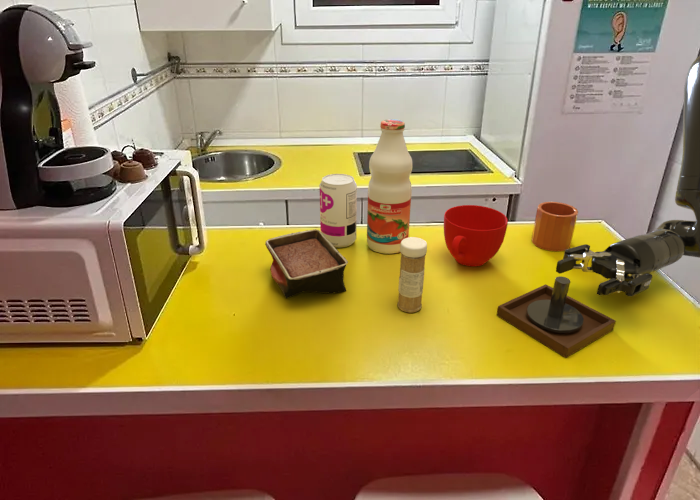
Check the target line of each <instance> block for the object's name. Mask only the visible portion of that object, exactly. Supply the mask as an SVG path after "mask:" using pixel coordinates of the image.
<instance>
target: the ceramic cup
mask: <svg viewBox="0 0 700 500" xmlns="http://www.w3.org/2000/svg"><path fill="white" fill-rule="evenodd" d="M508 223H509V219H508V217H507V216H506V214H504V213H503V212H501V211H499V210H497V209H495V208H492V207H488V206H483V205H476V204H462V205H457V206H453V207H450V208H448V209H446V210H445V212H444V214H443V237H444V242H445V245H446V248H447V250H448V252H449V253H450V254H451V256H452V257H453V258H454V260H455V261H456V262H457V263H458V264H460V265H463V266H466V267H481V266H483V265H485V264H486V263H487V262H489V261H491V259H492V258H494V257H495V256H496V254H498V252H499V250H500V248H501V247H502V245H503V243H504V240H505V236H506V234H507V229H508Z"/></svg>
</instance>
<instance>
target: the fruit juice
mask: <svg viewBox="0 0 700 500" xmlns="http://www.w3.org/2000/svg"><path fill="white" fill-rule="evenodd" d="M379 125H380V131H381V134H380V136H379V139H378V141H377V143H376V146H375V149H374V151H373V153H372V154H371V155H370V158H369V162H368V167H369V172H370V179H369V181H368V186H367V208H366V210H367V211H366V212H367V214H366V244H367V246H368V249H370V250H371V251H373V252H376V253H379V254H384V255H385V254H386V255H392V254H398V253H401V252H400V246H401V241H402V240H403V239H405V238H408V237H410V223H411V222H410V221H411V207H412V192H413V191H412V190H413V189H412V183H411V179H410V176H411V175H412V172H413V157H412V156H411V154H410V152H409V150H408V147H407V143H406V140H405V136H404V131H405V128H406V122H405V121H404V120H401V119H393V118H392V119H391V118H389V119H383V120H381V121H380V124H379Z"/></svg>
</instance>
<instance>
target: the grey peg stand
mask: <svg viewBox="0 0 700 500" xmlns="http://www.w3.org/2000/svg"><path fill="white" fill-rule="evenodd" d="M570 285H571V279H569V278H568V277H566V276H560V275H559V276H556V277H555V278H554V283H553V287H552V288H553V291H552V296H551V300H537V301H534V302H532V303H531V304H529V306H528V307H527V316H528V318H529V319H530V320H531V321H532V322H533V323H534V324H535V325H537V326H539V327H541V328H543V329H545V330H548V331H552V332H558V333H570V332H575V331H577V330H579V329H580V328H581V327H582V326H583V322H584V319H583V316H582V314H581V313H580V312H579V311H578V310H577V309H575V308H574V307H572V306H570V305H568V304H566V303H565V302H566V298H567V296H568V293H569V289H570Z"/></svg>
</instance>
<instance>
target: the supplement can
mask: <svg viewBox="0 0 700 500" xmlns="http://www.w3.org/2000/svg"><path fill="white" fill-rule="evenodd" d="M318 186H319V222H320V224H319V225H320V231H321V232H322V233H323V235H324V236H325V237H326V238H327V239H328V240H329V241H330V242H331V244H332V245H333V246H334V247H335V248H336V249H339V248H340V249H341V248H346V247H349V246H351V245H353V244H354V243H355V242H356V240H357V223H358V221H357V217H358V215H357V214H358V212H357V211H358V210H357V209H358V208H357V207H358V185H357V182H356V180H355V178H354V176H352V175H349V174H346V173H331V174H327V175H325V176H322V178H321V181H320V183H319V185H318Z"/></svg>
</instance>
